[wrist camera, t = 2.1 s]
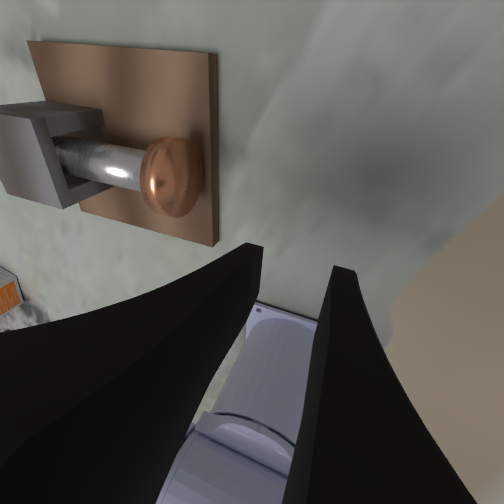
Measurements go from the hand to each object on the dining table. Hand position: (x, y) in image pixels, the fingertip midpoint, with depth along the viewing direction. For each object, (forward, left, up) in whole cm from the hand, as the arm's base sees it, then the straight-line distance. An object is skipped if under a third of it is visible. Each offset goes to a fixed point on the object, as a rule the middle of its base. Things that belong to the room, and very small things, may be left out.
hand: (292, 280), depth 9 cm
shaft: (+13, 0, -8) cm, 15 cm away
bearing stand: (+14, 0, -9) cm, 17 cm away
